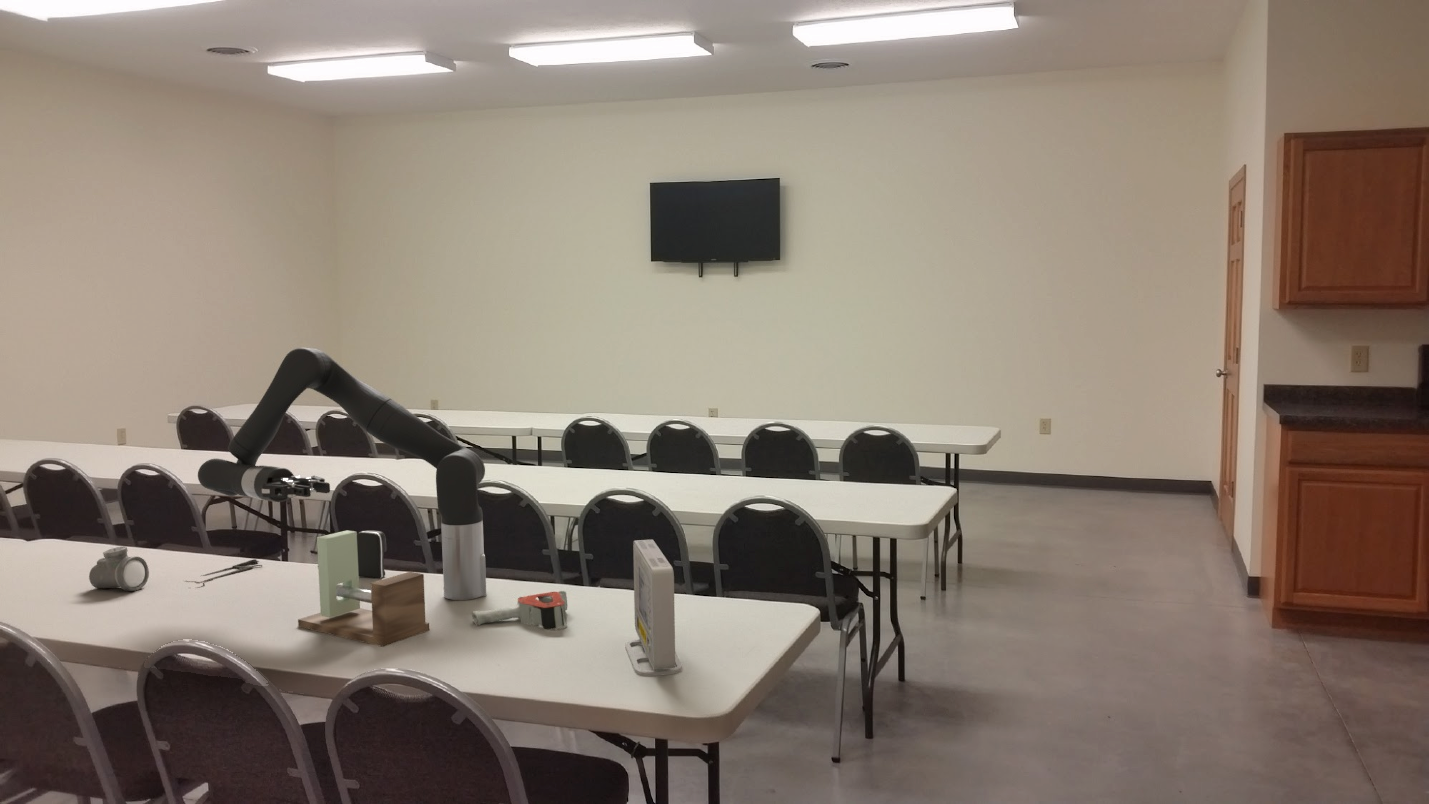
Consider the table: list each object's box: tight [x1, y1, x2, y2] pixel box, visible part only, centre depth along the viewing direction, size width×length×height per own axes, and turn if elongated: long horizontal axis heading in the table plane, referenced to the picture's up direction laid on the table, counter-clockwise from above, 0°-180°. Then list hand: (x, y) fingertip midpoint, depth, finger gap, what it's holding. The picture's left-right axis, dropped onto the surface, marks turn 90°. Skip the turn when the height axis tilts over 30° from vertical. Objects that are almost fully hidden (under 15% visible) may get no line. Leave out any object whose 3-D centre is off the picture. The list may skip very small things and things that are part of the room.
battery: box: [357, 530, 387, 579], centre depth 259 cm, size 7×4×11 cm, turn 72°
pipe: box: [336, 584, 372, 604], centre depth 218 cm, size 22×3×3 cm, turn 58°
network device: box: [624, 539, 683, 677], centre depth 197 cm, size 26×9×20 cm, turn 12°
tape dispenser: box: [471, 590, 568, 631], centre depth 223 cm, size 18×5×20 cm
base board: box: [297, 571, 430, 648], centre depth 218 cm, size 26×12×12 cm, turn 58°
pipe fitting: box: [88, 545, 150, 592], centre depth 251 cm, size 12×8×10 cm, turn 73°
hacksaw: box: [184, 558, 263, 589], centre depth 263 cm, size 24×10×2 cm, turn 149°
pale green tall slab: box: [316, 530, 361, 618], centre depth 221 cm, size 3×8×17 cm, turn 148°
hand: (318, 489), depth 222 cm, fingers open, 4 cm apart
